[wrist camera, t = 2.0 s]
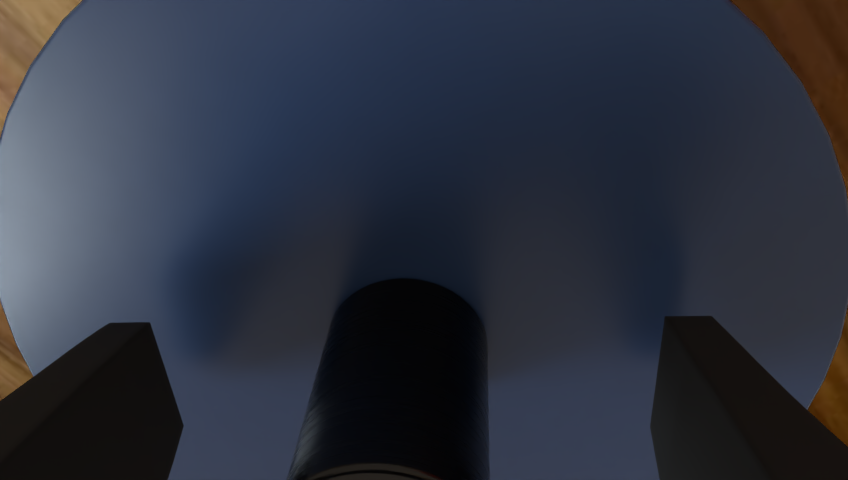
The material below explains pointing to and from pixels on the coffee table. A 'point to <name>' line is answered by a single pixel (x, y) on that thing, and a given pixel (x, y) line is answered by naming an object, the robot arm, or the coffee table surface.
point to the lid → (419, 223)
